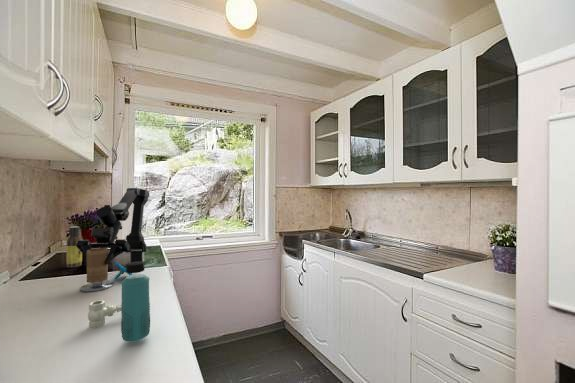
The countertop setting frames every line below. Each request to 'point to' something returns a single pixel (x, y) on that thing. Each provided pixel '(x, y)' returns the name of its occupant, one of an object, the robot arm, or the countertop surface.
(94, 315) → the valve
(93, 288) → the hub
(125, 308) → the beverage bottle
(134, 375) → the countertop surface
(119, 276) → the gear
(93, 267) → the sleeve
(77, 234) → the sauce bottle
